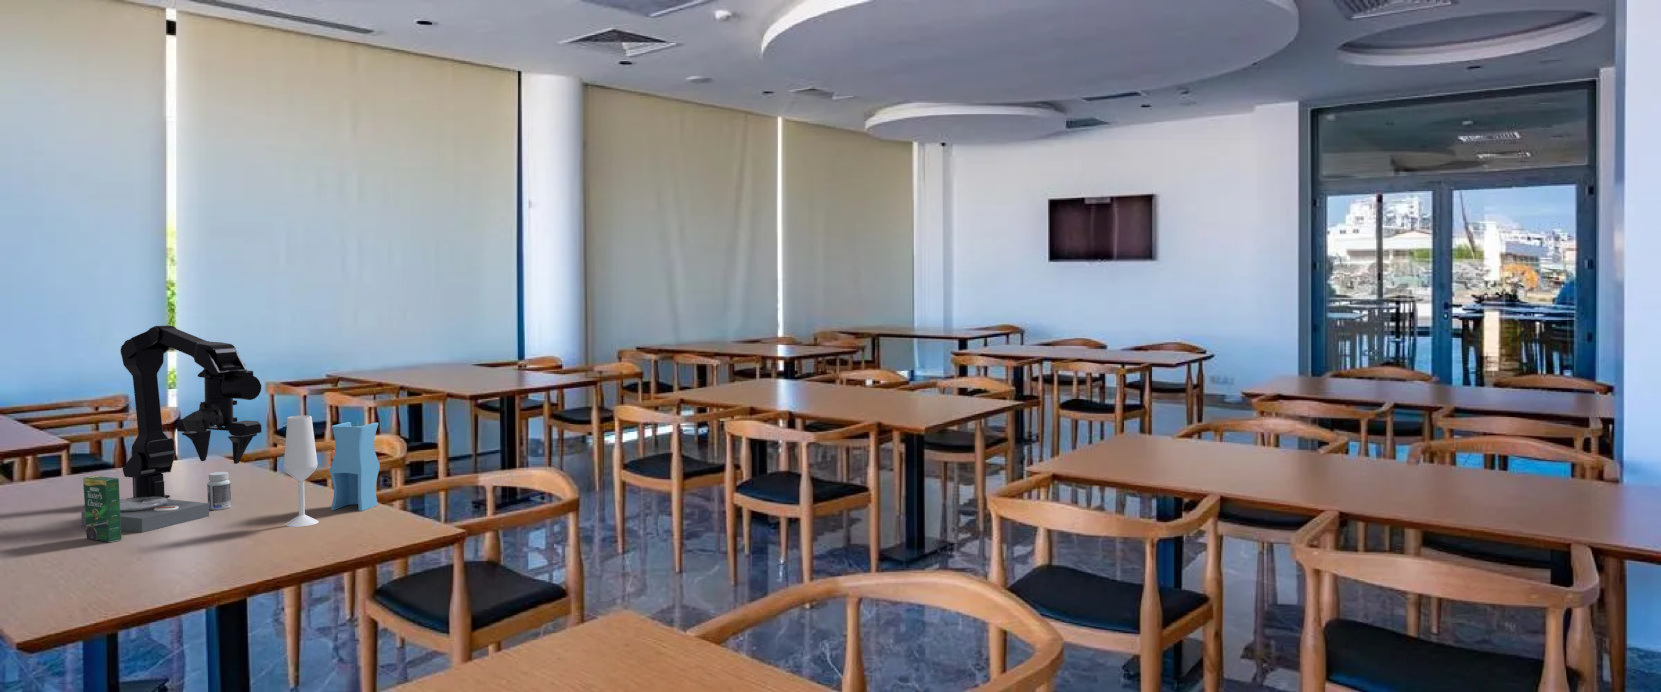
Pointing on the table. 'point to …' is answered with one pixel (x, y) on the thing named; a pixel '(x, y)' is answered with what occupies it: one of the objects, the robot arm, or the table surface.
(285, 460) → the champagne flute
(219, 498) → the pill bottle
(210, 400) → the robot arm
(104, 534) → the coffee box
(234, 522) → the table surface
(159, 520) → the scale
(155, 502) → the scale pan
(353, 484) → the blue wavy hollow stand
